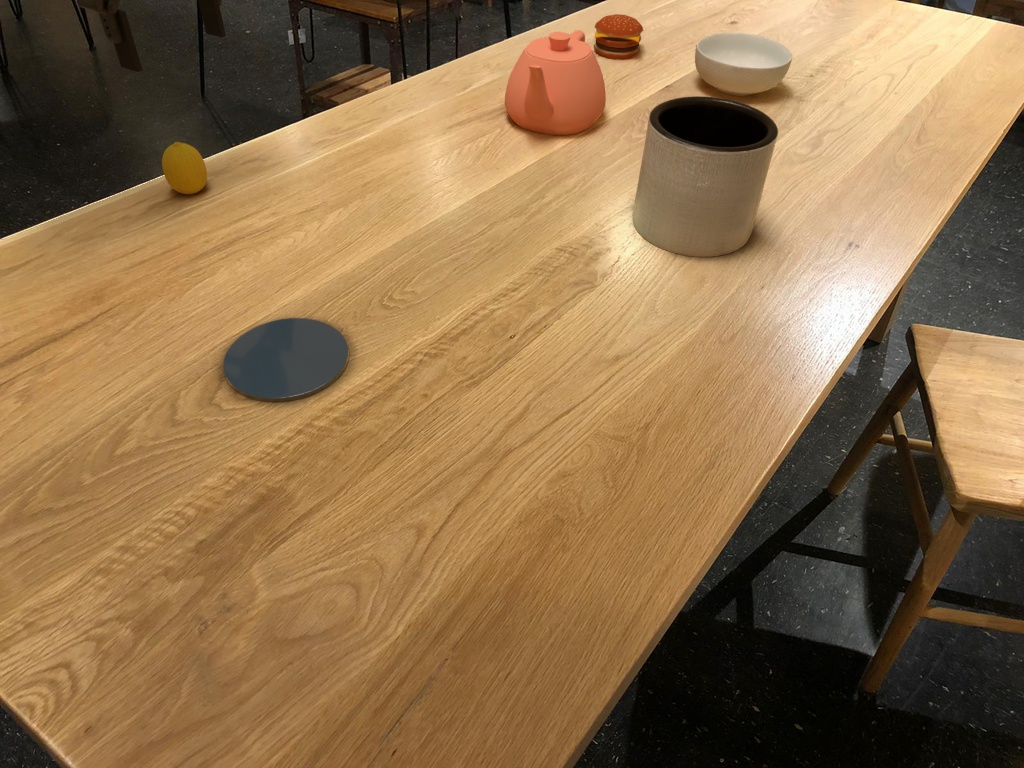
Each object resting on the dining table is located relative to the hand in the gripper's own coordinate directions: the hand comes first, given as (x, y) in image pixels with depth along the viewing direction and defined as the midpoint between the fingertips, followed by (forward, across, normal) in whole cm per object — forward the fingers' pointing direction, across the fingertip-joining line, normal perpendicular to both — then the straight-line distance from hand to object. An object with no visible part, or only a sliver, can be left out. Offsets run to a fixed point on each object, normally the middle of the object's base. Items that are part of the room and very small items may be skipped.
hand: (176, 51), depth 95 cm
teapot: (+20, +48, -30) cm, 60 cm away
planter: (+20, +26, -62) cm, 70 cm away
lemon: (+20, -2, +2) cm, 20 cm away
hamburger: (+20, +83, -27) cm, 90 cm away
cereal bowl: (+20, +78, -53) cm, 96 cm away
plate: (+20, -23, -33) cm, 45 cm away
